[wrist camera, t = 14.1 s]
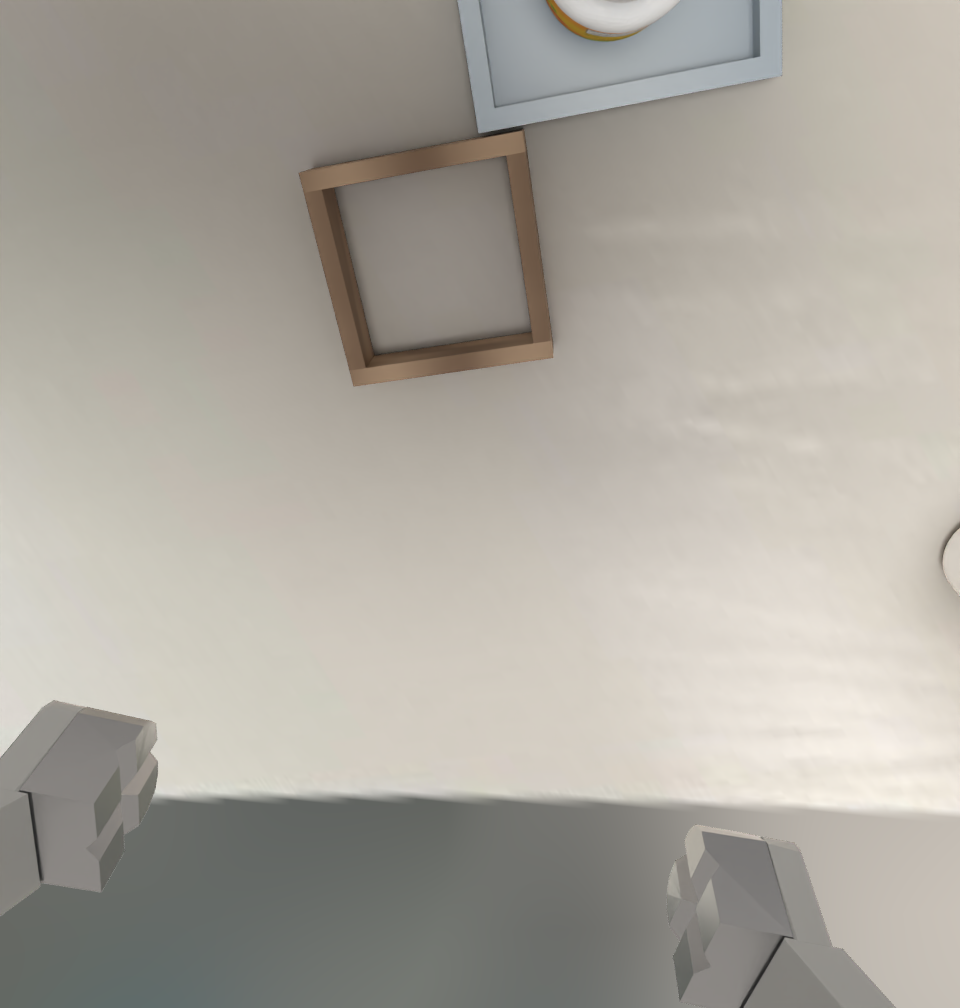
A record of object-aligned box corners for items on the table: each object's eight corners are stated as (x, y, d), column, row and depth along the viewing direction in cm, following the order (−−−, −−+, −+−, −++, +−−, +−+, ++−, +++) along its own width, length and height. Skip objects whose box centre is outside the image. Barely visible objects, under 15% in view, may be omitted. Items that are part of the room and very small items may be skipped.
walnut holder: (362, 373, 40) (353, 386, 38) (311, 168, 35) (298, 173, 33) (553, 345, 38) (553, 357, 36) (524, 128, 34) (522, 130, 32)
